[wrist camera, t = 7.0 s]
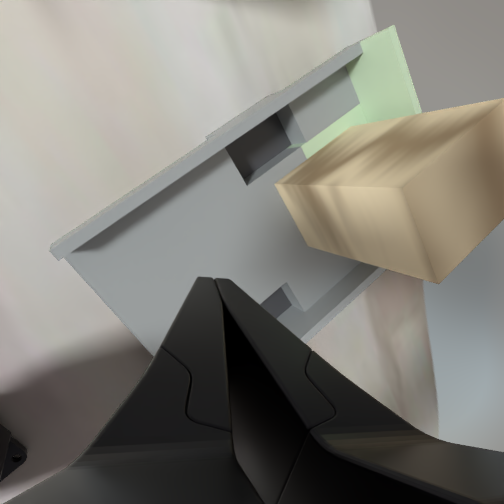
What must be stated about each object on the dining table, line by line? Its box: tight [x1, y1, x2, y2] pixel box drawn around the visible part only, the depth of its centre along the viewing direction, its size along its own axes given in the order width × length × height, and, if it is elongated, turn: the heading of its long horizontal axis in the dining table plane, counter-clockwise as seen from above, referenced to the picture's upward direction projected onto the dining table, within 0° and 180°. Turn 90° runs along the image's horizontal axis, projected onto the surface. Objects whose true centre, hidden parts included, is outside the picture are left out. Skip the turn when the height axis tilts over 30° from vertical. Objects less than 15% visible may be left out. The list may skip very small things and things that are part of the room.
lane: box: [49, 25, 422, 357], centre depth 22 cm, size 21×14×6 cm, turn 123°
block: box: [274, 98, 504, 284], centre depth 20 cm, size 7×5×10 cm
